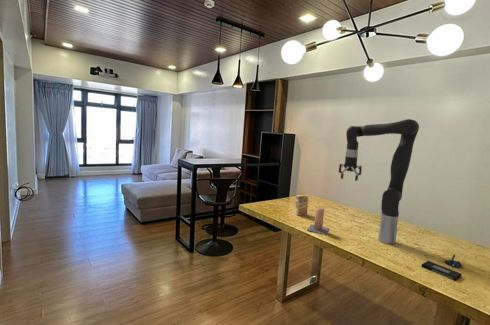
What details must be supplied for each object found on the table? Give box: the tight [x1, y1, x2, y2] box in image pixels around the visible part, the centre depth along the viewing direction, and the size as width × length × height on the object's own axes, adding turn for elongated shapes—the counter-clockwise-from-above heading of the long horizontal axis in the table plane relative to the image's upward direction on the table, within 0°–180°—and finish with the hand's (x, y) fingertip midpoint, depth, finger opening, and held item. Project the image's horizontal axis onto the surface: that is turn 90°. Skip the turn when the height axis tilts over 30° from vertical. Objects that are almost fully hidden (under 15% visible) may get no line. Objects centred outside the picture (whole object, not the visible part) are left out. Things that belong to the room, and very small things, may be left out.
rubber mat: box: [306, 224, 330, 236], centre depth 178 cm, size 12×12×1 cm
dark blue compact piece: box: [444, 253, 463, 269], centre depth 139 cm, size 8×7×8 cm
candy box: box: [294, 194, 309, 216], centre depth 209 cm, size 9×4×15 cm, turn 107°
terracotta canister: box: [313, 207, 325, 231], centre depth 177 cm, size 5×5×14 cm
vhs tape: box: [421, 260, 462, 282], centre depth 131 cm, size 8×14×2 cm, turn 33°
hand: (349, 180), depth 179 cm, fingers open, 8 cm apart
